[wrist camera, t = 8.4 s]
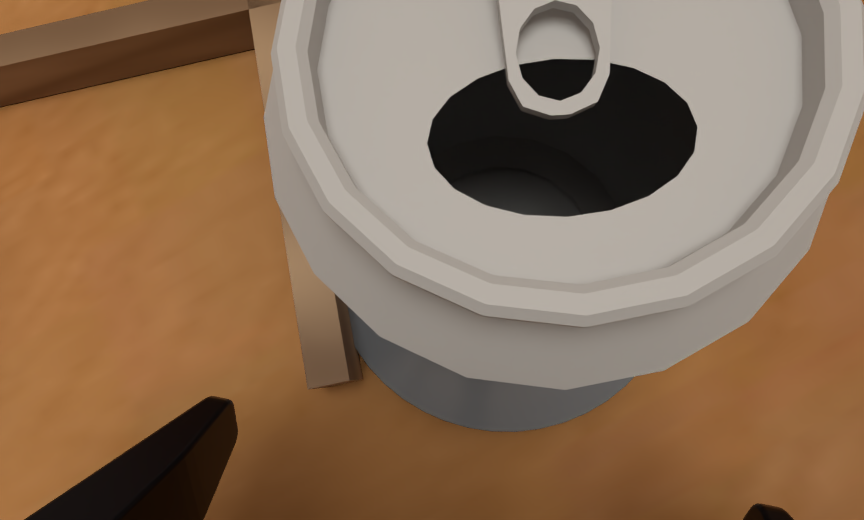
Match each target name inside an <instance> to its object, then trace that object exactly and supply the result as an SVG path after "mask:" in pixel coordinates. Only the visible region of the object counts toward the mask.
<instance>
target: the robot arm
mask: <svg viewBox="0 0 864 520" xmlns="http://www.w3.org/2000/svg"><path fill="white" fill-rule="evenodd" d="M237 435H238V428H237V422H236V415H235V409H234V404H233V402H232V401H231V400H229V399H225V398H220V397H215V396H210V397H207V398H205V399H204V400H202V401H201V402H199V403H198V404H196V405H195V406H193V407H192V408H190V409H189V410H187V411H186V412H184V413H183V414H181V415H180V416H178V417H177V418H175V419H174V420H172V421H171V422H169V423H168V424H166V425H165V426H163V427H162V428H160V429H159V430H157V431H156V432H154V433H153V434H151V435H150V436H148V437H147V438H145V439H144V440H142V441H141V442H139V443H138V444H136V445H135V446H133V447H132V448H130V449H129V450H127V451H126V452H124V453H123V454H121V455H120V456H118V457H117V458H115V459H114V460H113V461H111V462H110V463H108V464H107V465H105V466H104V467H102V468H101V469H99V470H98V471H96V472H95V473H93V474H92V475H90V476H89V477H87V478H86V479H84V480H83V481H81V482H80V483H78V484H77V485H75V486H74V487H72V488H71V489H69V490H68V491H66V492H65V493H63V494H62V495H60V496H59V497H57V498H56V499H54V500H53V501H51V502H50V503H48V504H47V505H45V506H44V507H42V508H41V509H39V510H38V511H36V512H35V513H33V514H32V515H30V516H29V517H27V518H26V519H24V520H203V519H204V517H205V515H206V513H207V510H208V508H209V506H210V503H211V501H212V498H213V496H214V494H215V491H216V489H217V486H218V484H219V481H220V479H221V477H222V474H223V472H224V469H225V467H226V465H227V462H228V460H229V457H230V455H231V452H232V450H233V448H234V445H235V443H236V439H237ZM743 520H794V519H793V518H792V517H791V516H790V515H789V514H788V513H787V512H786V511H785V510H783V509H781V508H779V507H775V506H770V505H765V504H755V505H753V506H752V507H751V508H750V510H749V511H748V513H747V514H746V515H745V517H744V518H743Z"/></svg>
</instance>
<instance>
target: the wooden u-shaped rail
mask: <svg viewBox="0 0 864 520" xmlns="http://www.w3.org/2000/svg"><path fill="white" fill-rule="evenodd" d="M280 4H281V0H148V1H144V2H140V3H135V4H131V5H127V6H122V7H118V8H114V9H109V10H105V11H101V12H96V13H92V14H88V15H83V16H79V17H75V18H70V19H66V20H62V21H57V22H53V23H49V24H45V25H40V26H36V27H32V28H27V29H23V30H19V31H14V32H10V33H6V34H1V35H0V107H2V106H6V105H10V104H15V103H19V102H24V101H28V100H32V99H37V98H41V97H46V96H50V95H54V94H59V93H63V92H67V91H72V90H76V89H81V88H85V87H89V86H94V85H98V84H102V83H107V82H111V81H116V80H120V79H124V78H129V77H133V76H138V75H142V74H146V73H151V72H155V71H159V70H164V69H168V68H173V67H177V66H181V65H186V64H190V63H195V62H199V61H203V60H208V59H212V58H216V57H221V56H225V55H230V54H234V53H238V52H243V51H247V50H251V49H255V53H256V60H257V66H258V73H259V79H260V86H261V92H262V98H263V105H264V111H265V108H266V103H267V98H268V93H269V88H270V83H271V78H272V72H273V66H272V59H271V50H272V45H273V40H274V35H275V30H276V24H277V19H278V14H279V9H280ZM279 208H280V206H279ZM280 214H281V220H282V227H283V233H284V240H285V246H286V252H287V259H288V265H289V272H290V278H291V285H292V291H293V297H294V304H295V310H296V317H297V323H298V330H299V336H300V342H301V349H302V355H303V362H304V368H305V374H306V381H307V387H308V389H315V388H324V387H330V386H334V385H339V384H344V383H348V382H353V381H358V380H362V379H363V377H362V371H361V366H360V360H359V354H358V351H357V350H356V348H355V346H354V340H353V334H352V329H351V323H350V317H349V312H348V306H347V305H346V304H345V303H344V302H343V301H342V300H341V299H340V298H339V297H338V296H337V295H336V294H335V293H334V292H333V291H332V290H331V289H330V288H329V287H328V286H326V285H325V284H324V283H323V282H322V281H321V280H320V279H319V278H318V277H317V276H316V275H315V274H314V273H313V271H312V269H311V267H310V265H309V263H308V261H307V259H306V257H305V255H304V253H303V251H302V249H301V247H300V245H299V243H298V241H297V239H296V237H295V236H294V234H293V232H292V230H291V228H290V226H289V224H288V222H287V220H286V218H285V216H284V214H283V212H282V210H281V208H280Z"/></svg>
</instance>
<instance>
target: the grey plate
mask: <svg viewBox="0 0 864 520" xmlns="http://www.w3.org/2000/svg"><path fill="white" fill-rule="evenodd" d="M348 312H349V317H350V323H351V329H352V334H353V340H354V346H355V348H356V350H357V351H358V352H359V354H360V355H361V357H362V358H363V359H364V361H365V362H366V364H367V365H368V366H369V368H370V369H371V370H372V371H373V372H374V373H375V374H376V375H377V376H378V377H379V378H380V379H381V380H382V381H383V383H384V384H386V385H387V386H388V387H389V388H390V389H392V390H393V391H394V392H395V393H397V394H398V395H399V396H400V397H401V398H403V399H404V400H406V401H407V402H409V403H411V404H412V405H414V406H416V407H417V408H419V409H420V410H422V411H424V412H426V413H428V414H431V415H433V416H435V417H437V418H440V419H442V420H444V421H447V422H451V423H454V424H457V425H461V426H464V427H468V428H474V429H481V430H487V431H511V432H517V431H525V430H533V429H541V428H545V427H549V426H552V425H556V424H560V423H564V422H566V421H569V420H571V419H573V418H576V417H578V416H581V415H583V414H585V413H587V412H589V411H591V410H592V409H594V408H596V407H597V406H599V405H601V404H602V403H604V402H606V401H607V400H609V399H610V398H611V397H612V396H614V395H615V394H616V393H617V392H619V391H620V390H621V389H622V388H624V387H625V386H626V385H627V384H628V383H629V382H630V381H631V380H632V379H633V377H629V378H624V379H619V380H614V381H608V382H603V383H598V384H593V385H588V386H583V387H578V388H573V389H568V390H561V389H553V388H545V387H537V386H529V385H521V384H513V383H505V382H497V381H489V380H482V379H474V378H466V377H464V376H462V375H460V374H458V373H456V372H454V371H451V370H449V369H447V368H445V367H443V366H441V365H439V364H437V363H435V362H432V361H430V360H428V359H426V358H424V357H422V356H420V355H418V354H416V353H413V352H411V351H409V350H407V349H405V348H403V347H401V346H399V345H397V344H394V343H392V342H390V341H388V340H386V339H384V338H382V337H380V336H379V335H378V334H376V333H375V332H374V331H373V330H372V329H371V328H370V327H369V326H368V325H367V324H366V323H365V322H364V321H363V320H362V319H361V318H360V317H359V316H358V315H357V314H356V313H355V312H354V311H353V310H351V309H350V308H349V307H348Z"/></svg>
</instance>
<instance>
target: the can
mask: <svg viewBox="0 0 864 520" xmlns="http://www.w3.org/2000/svg"><path fill="white" fill-rule="evenodd" d="M271 59H272V66H273V72H272V78H271V83H270V88H269V93H268V98H267V103H266V108H265V113H264V122H265V129H266V137H267V144H268V151H269V158H270V165H271V173H272V180H273V187H274V194H275V199H276V200H277V202H278V204H279V206H280V208H281V210H282V212H283V214H284V216H285V218H286V220H287V222H288V224H289V226H290V228H291V230H292V232H293V234H294V236H295V237H296V239H297V241H298V243H299V245H300V247H301V249H302V251H303V253H304V255H305V257H306V259H307V261H308V263H309V265H310V267H311V269H312V271H313V273H314V274H315V275H316V276H317V277H318V278H319V279H320V280H321V281H322V282H323V283H324V284H325V285H326V286H328V287H329V288H330V289H331V290H332V291H333V292H334V293H335V294H336V295H337V296H338V297H339V298H340V299H341V300H342V301H343V302H344V303H345V304H346V305H347V306H348V307H349V308H350V309H351V310H353V311H354V312H355V313H356V314H357V315H358V316H359V317H360V318H361V319H362V320H363V321H364V322H365V323H366V324H367V325H368V326H369V327H370V328H371V329H372V330H373V331H374V332H375V333H376V334H378V335H379V336H380V337H382V338H384V339H386V340H388V341H390V342H392V343H394V344H397V345H399V346H401V347H403V348H405V349H407V350H409V351H411V352H413V353H416V354H418V355H420V356H422V357H424V358H426V359H428V360H430V361H432V362H435V363H437V364H439V365H441V366H443V367H445V368H447V369H449V370H451V371H454V372H456V373H458V374H460V375H462V376H464V377H466V378H474V379H482V380H489V381H497V382H505V383H513V384H521V385H529V386H537V387H545V388H553V389H561V390H568V389H573V388H578V387H583V386H588V385H593V384H598V383H603V382H608V381H614V380H619V379H624V378H629V377H634V376H639V375H644V374H649V373H654V372H659V371H664V370H666V369H667V368H669V367H671V366H673V365H674V364H676V363H678V362H680V361H681V360H683V359H685V358H686V357H688V356H690V355H692V354H693V353H695V352H697V351H699V350H700V349H702V348H704V347H705V346H707V345H709V344H711V343H712V342H714V341H716V340H718V339H719V338H721V337H723V336H724V335H726V334H728V333H730V332H731V331H733V330H735V329H737V328H738V327H740V326H742V325H743V324H745V323H747V322H749V320H750V319H751V318H752V317H753V316H754V315H755V313H756V312H757V311H758V310H759V309H760V307H761V306H762V305H763V304H764V303H765V301H766V300H767V299H768V298H769V297H770V296H771V294H772V293H773V292H774V291H775V290H776V288H777V287H778V286H779V285H780V284H781V282H782V281H783V280H784V279H785V278H786V277H787V275H788V274H789V273H790V272H791V271H792V269H793V268H794V267H795V266H796V265H797V263H798V262H799V261H800V260H801V259H802V258H803V256H804V255H805V254H806V253H807V252H808V250H809V249H810V246H811V243H812V240H813V237H814V234H815V232H816V229H817V226H818V223H819V220H820V217H821V215H822V212H823V209H824V206H825V203H826V200H827V198H828V195H829V193H830V192H831V191H832V190H833V189H834V187H835V186H836V185H837V184H838V183H839V180H840V177H841V174H842V171H843V168H844V165H845V163H846V160H847V157H848V154H849V151H850V148H851V145H852V143H853V140H854V137H855V134H856V131H857V128H858V126H859V123H860V120H861V117H862V114H863V111H864V5H863V3H862V1H861V0H281V4H280V9H279V14H278V19H277V24H276V30H275V35H274V40H273V45H272V50H271Z"/></svg>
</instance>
